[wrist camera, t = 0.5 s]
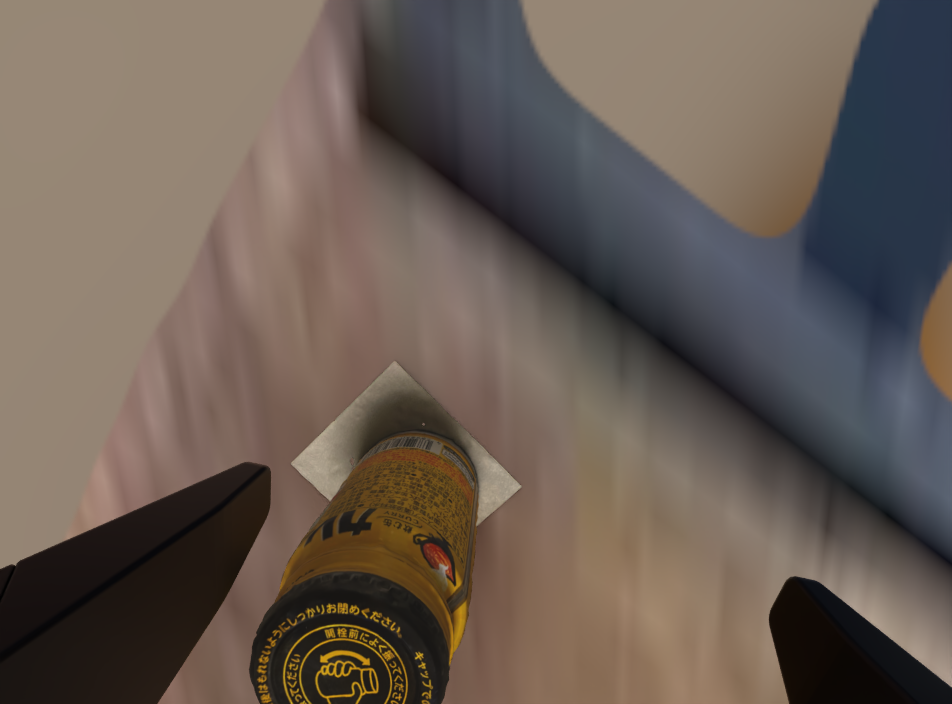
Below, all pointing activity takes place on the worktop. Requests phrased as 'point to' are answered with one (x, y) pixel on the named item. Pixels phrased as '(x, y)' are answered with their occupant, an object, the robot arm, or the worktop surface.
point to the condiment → (380, 555)
